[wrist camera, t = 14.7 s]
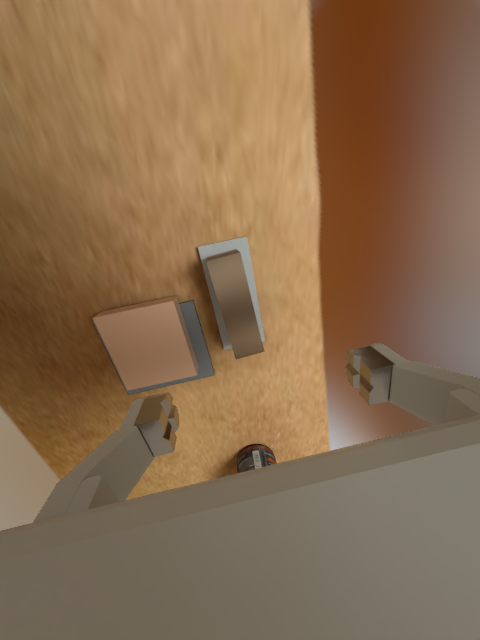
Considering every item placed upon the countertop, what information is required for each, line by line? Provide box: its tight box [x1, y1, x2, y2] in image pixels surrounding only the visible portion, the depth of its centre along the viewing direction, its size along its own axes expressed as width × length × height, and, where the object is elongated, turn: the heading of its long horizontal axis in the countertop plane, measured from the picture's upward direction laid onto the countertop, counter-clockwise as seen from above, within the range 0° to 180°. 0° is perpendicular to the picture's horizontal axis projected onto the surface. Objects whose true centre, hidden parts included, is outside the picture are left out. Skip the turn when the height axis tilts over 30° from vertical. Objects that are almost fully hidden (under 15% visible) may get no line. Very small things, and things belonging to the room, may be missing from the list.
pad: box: [198, 237, 265, 350], centre depth 24 cm, size 12×5×1 cm, turn 11°
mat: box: [93, 300, 214, 395], centre depth 26 cm, size 10×11×1 cm
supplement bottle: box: [237, 445, 277, 473], centre depth 29 cm, size 6×6×11 cm
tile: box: [92, 296, 198, 391], centre depth 24 cm, size 2×8×9 cm
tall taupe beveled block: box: [206, 249, 264, 359], centre depth 22 cm, size 10×3×4 cm, turn 14°
